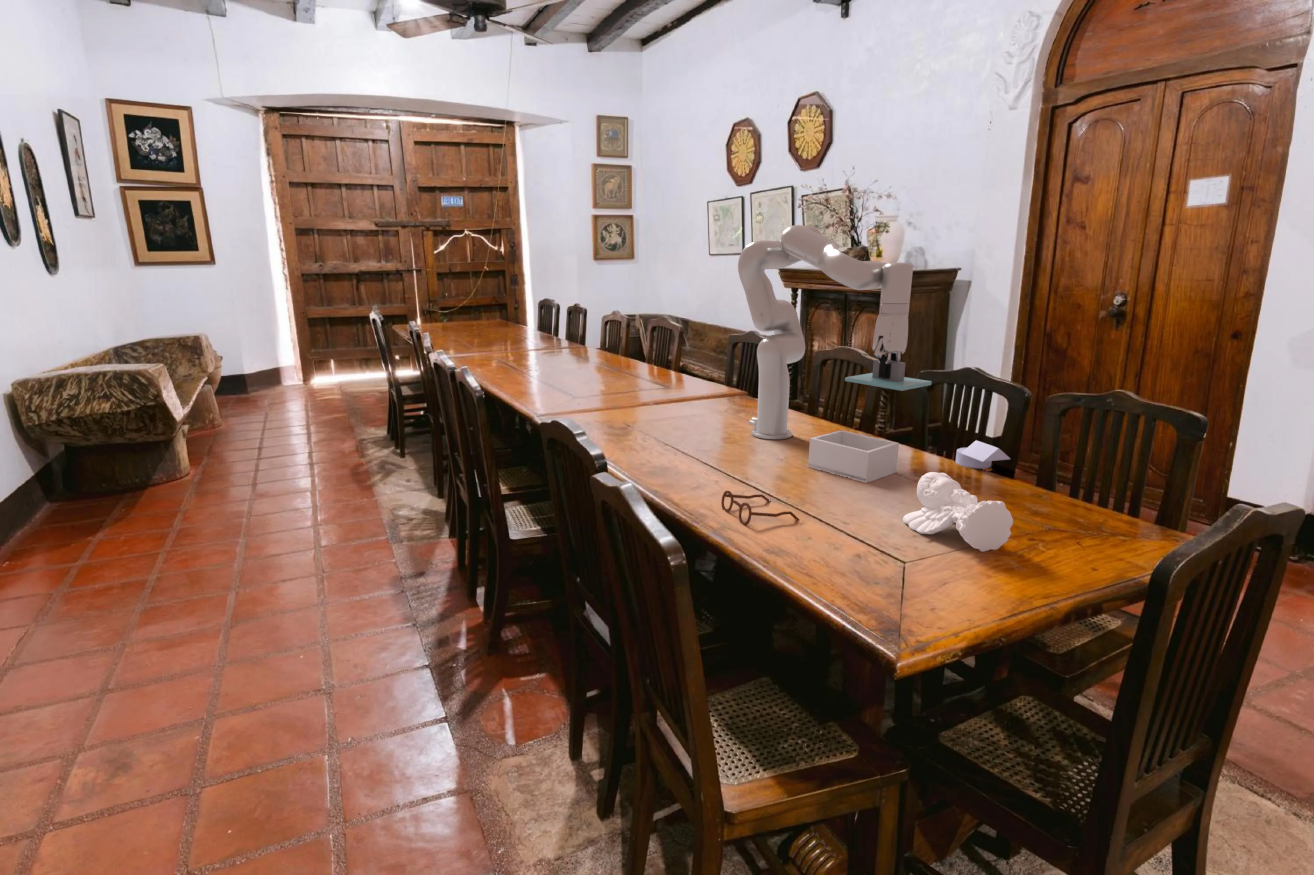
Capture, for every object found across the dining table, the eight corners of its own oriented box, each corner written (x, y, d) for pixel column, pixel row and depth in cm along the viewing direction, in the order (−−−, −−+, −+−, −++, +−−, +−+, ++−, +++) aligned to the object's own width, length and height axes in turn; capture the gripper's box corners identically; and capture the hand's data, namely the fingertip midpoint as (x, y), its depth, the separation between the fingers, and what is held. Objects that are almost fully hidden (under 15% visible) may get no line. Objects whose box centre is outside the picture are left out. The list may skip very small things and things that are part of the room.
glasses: (719, 509, 161) (720, 488, 160) (770, 502, 165) (771, 482, 164) (747, 529, 149) (747, 507, 148) (800, 521, 154) (801, 500, 152)
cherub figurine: (959, 506, 132) (900, 465, 150) (949, 564, 136) (893, 517, 154) (1019, 499, 135) (954, 459, 153) (1007, 556, 139) (946, 511, 157)
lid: (844, 380, 198) (846, 359, 196) (874, 375, 206) (876, 355, 205) (902, 390, 184) (904, 367, 183) (931, 384, 193) (933, 363, 191)
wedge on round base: (1009, 471, 189) (975, 458, 201) (1012, 446, 187) (978, 435, 199) (981, 473, 186) (948, 460, 198) (984, 449, 185) (951, 437, 197)
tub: (808, 466, 191) (809, 438, 189) (839, 457, 200) (841, 430, 198) (865, 483, 178) (868, 452, 176) (896, 472, 187) (899, 443, 185)
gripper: (898, 307, 198) (892, 372, 203) (864, 310, 188) (858, 378, 193) (923, 309, 193) (916, 376, 197) (888, 312, 183) (882, 382, 187)
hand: (887, 376), depth 195 cm, fingers closed on lid, 3 cm apart
